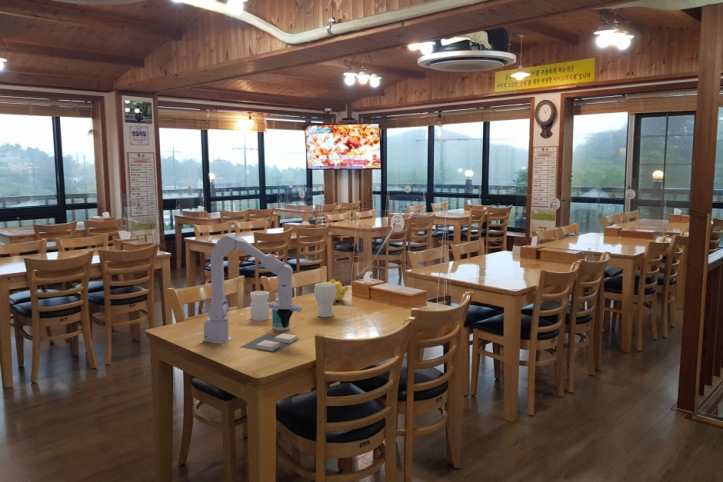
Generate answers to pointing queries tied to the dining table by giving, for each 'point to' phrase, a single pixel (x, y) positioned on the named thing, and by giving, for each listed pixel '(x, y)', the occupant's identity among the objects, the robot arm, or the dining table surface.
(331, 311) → the cup
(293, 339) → the tile
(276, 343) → the tile
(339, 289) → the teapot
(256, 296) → the vase
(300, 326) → the dining table surface
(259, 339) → the mat
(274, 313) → the pill bottle
